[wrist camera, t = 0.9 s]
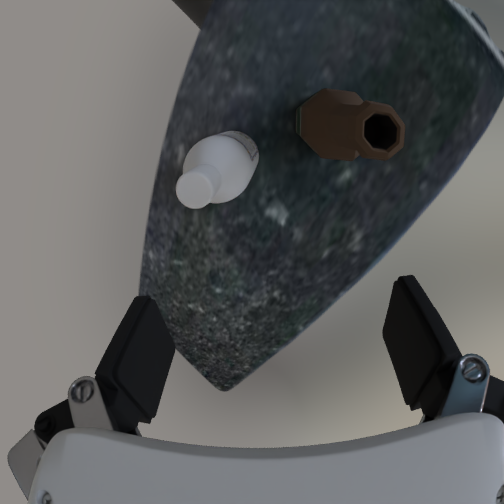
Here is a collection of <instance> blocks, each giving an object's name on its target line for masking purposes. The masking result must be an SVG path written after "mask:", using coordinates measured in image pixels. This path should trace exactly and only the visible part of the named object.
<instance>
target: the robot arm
mask: <svg viewBox="0 0 504 504" xmlns="http://www.w3.org/2000/svg"><path fill="white" fill-rule="evenodd" d="M383 339H384V341H385V344H386V347H387V349H388V352H389V355H390V358H391V361H392V364H393V366H394V370H395V372H396V375H397V379H398V381H399V385H400V388H401V391H402V394H403V398H404V401H405V403H406V405H410V409H411V411H413V410H416V409H419V408H421V409H422V412H423V417H422V419H421V421H420V423H419V424H418V425H415V426H412V427H408V428H404V429H401V430H397V431H392V432H388V433H384V434H379V435H375V436H370V437H366V438H360V439H355V440H349V441H343V442H336V443H329V444H320V445H311V446H299V447H283V448H230V447H214V446H213V447H212V446H202V445H201V446H200V445H192V444H184V443H176V442H169V441H164V440H158V439H152V438H146V437H142V435H141V434H140V431H139V430H138V427H137V426H138V422H143V423H148V424H150V423H151V419H152V418H154V417H155V416H156V413H157V409H158V406H159V403H160V399H161V396H162V392H163V389H164V385H165V382H166V379H167V376H168V372H169V369H170V366H171V363H172V359H173V356H174V353H175V344H174V342H173V339H172V337H171V335H170V333H169V331H168V329H167V326H166V324H165V322H164V320H163V318H162V315H161V313H160V311H159V308H158V306H157V304H156V301H155V300H153V299H152V298H151V297H150V296H137V297H135V298H134V300H133V302H132V303H131V305H130V307H129V309H128V310H127V313H126V314H125V316H124V318H123V319H122V321H121V323H120V325H119V327H118V329H117V330H116V332H115V334H114V336H113V338H112V340H111V342H110V344H109V346H108V348H107V350H106V351H105V354H104V355H103V357H102V359H101V361H100V364H99V365H98V367H97V370H96V372H95V374H96V376H95V378H92V377H90V376H83V377H80V378H78V379H77V380H75V381H74V382H73V383H72V384H71V386H70V388H69V391H68V399H66V400H65V401H63V402H61V403H59V404H57V405H55V406H53V407H51V408H50V409H48V410H46V411H44V412H42V413H41V414H40V415H39V416H38V417H37V419H36V421H35V425H34V428H35V430H32V429H31V430H30V431H29V432H28V433H27V434H26V435H25V436H24V437H23V438H22V439H21V440H20V441H19V442H18V443H17V444H16V445H15V446H14V447H13V448H12V449H11V450H10V451H9V453H8V464H9V466H10V468H11V470H12V472H13V475H14V476H15V479H16V480H17V482H18V484H19V486H20V488H21V490H22V491H23V493H24V495H25V497H26V498H27V500H28V504H504V381H502V380H500V379H498V378H495V377H493V376H491V375H490V369H489V366H488V364H487V362H486V361H485V360H484V359H483V358H482V357H481V356H479V355H477V354H466V355H464V356H462V354H461V352H460V351H459V349H458V347H457V345H456V343H455V341H454V339H453V337H452V336H451V334H450V332H449V330H448V329H447V327H446V325H445V323H444V322H443V320H442V318H441V317H440V315H439V313H438V312H437V310H436V309H435V307H434V306H433V305H432V303H431V301H430V300H429V298H428V296H427V295H426V293H425V292H424V290H423V289H422V287H421V286H420V284H419V283H418V281H417V280H416V278H415V277H414V276H413V275H407V276H400V277H399V278H398V280H397V281H395V282H394V285H393V289H392V294H391V298H390V303H389V307H388V311H387V315H386V319H385V323H384V327H383Z"/></svg>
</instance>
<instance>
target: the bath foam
mask: <svg viewBox="0 0 504 504" xmlns="http://www.w3.org/2000/svg"><path fill="white" fill-rule="evenodd" d="M258 160H259V152H258V148H257V146H256V144H255V142H254V141H253V140H252V139H251V138H250V137H249V136H248V135H246V134H244V133H242V132H239V131H227V132H223V133H219V134H216V135H213V136H209V137H206V138H204V139H202V140H200V141H199V142H198V143H196V144H195V145H194V146H193V147H192V148H191V149H190V151H189V152H188V154H187V156H186V158H185V161H184V165H183V175H182V176H181V177H180V178H179V179H178V181H177V184H176V194H177V197H178V199H179V200H180V202H181V203H182V204H184V205H185V206H187V207H189V208H194V209H197V208H202V207H204V206H206V205H207V204H208V203H223V202H227V201H229V200H232V199H234V198H235V197H237V196H238V195H239V194H241V193H242V192H243V191H244V190H245V188H246V187H247V186H248V184H249V182H250V180H251V178H252V176H253V174H254V171H255V168H256V166H257V164H258Z"/></svg>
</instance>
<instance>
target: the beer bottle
mask: <svg viewBox="0 0 504 504" xmlns="http://www.w3.org/2000/svg"><path fill="white" fill-rule="evenodd" d="M295 132H296V133H297V134H298V135H299V136H300V137H301V138H302V139H303V140H304V141H305V142H306V143H307V144H308V145H309V146H310V148H311V149H313V150H314V151H315V152H316V153H317V154H318V155H319V156H320V157H321V158H325V159H336V160H346V161H353V160H354V159H355V158H356V157H358V156H359V155H361V156H362V158H369V159H377V160H383V161H385V160H388V159H390V158H391V157H392V156H393V155H394V154H395V153H397V152H398V151H399V150H400V149H401V148H402V147H404V135H405V125H404V123H403V122H402V120H401V119H400V118H399V116H398V115H397V113H396V112H395V111H394V109H393V108H392V107H391V106H389V105H388V104H383V103H378V102H372V101H367V100H365V101H364V102H363V100H362V99H361V98H360V97H359V96H358V95H357V93H356V92H350V91H343V90H335V89H322V90H320V91H319V92H317V93H316V94H314V95H313V96H311V97H310V98H309V99H308V100H307V101H305V102H304V103H303V104H302V105H301V106H300V107H298V108H297V109H296V130H295Z"/></svg>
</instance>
